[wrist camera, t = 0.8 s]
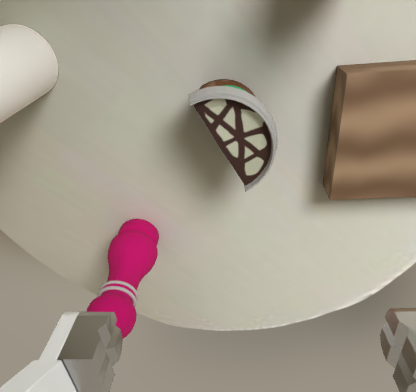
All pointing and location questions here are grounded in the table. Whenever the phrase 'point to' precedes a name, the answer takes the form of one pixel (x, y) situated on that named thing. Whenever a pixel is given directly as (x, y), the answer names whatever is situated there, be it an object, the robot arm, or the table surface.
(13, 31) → the cup
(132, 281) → the pepper mill
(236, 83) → the food container
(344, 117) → the walnut base
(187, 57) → the table surface
